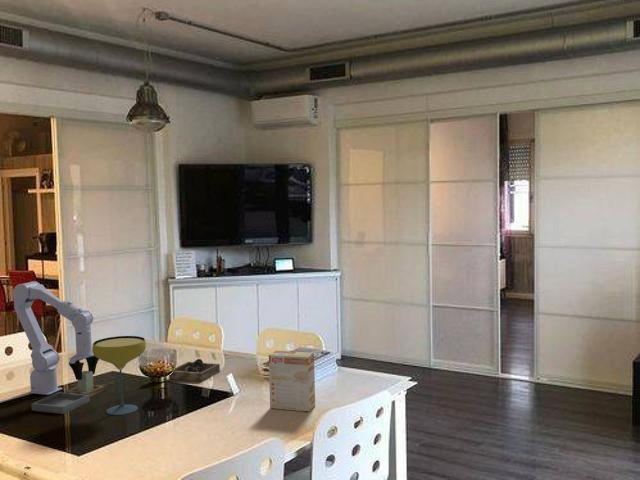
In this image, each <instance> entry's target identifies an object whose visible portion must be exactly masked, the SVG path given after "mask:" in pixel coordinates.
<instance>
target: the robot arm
mask: <svg viewBox="0 0 640 480" xmlns="http://www.w3.org/2000/svg"><path fill="white" fill-rule="evenodd" d="M11 295H12V297H13V308H14V311H15V312H16V313H15V314H16V315H17V318H18V319H19V322H20V324H21V326H22V328H23V330H24V333H25V335H26V338H27V339H28V342H29V344H30V346H31V348H32V351H31V352H30V353H31V354H30V357H31V361H32V362H31V365H32V368H33V370H32V371H31V373H30V375H29V378H30V379H29V380H30V385H29V386H30V391H29V394H36V395H37V394H38V395H45V396H50V395H53V394H55V393H57V392H60V391H61V390H63V387H58V378H57V377H58V376H57V365H58V363H59V362H60V355H59V353H58V352H57V351H56V350H55V349H54V346H53V345H51V344H49V343H48V342H47V341H46V339H45V336H44V334H43V332H42V330H41V327H40V325H39V323H38V320H37V317H36V316H35V314H34V311H33V309H32V305H33V303H34V301H35V300H41V301H42V302H44V303H47V305H50V306H52V307H54V308H55V309H57V310H56V311H57V313H58V314H59V315H61V316H62V317H64V318H65V319H66V320H68V321H70V322H71V325H72V326H73V327H74V332H75V334H74V335H75V351H76V353H75V355H73V356H71V357H68V359H69V360H68V366H69V367H70V368H71V370H72V371H73V374H74V377H75V380H76V381H78V380H82V372H83V369H84V368H83V367H84V364H85V362H82V360H85V361H86V363H87V371H92V372H93V376H94V375H95V373H96V369H97V364H98V363H99V360H100V359H99V358H97V357H96V356H95V355H94V354H93V350H92V347H93V343H92V327H91V326H92V325H91V324H92V323H93V321H94V315H93V314H92V313H91V312H90V311H89V310H83V309H82V308H79V307H78V306H76V305H75V304H73V301H71V300H70V301H69V300H65V301H64V300H62V299H60V298H59V297H57V296H56V295H55V294H53V293H52V292H51V291H49V290H48V289H47V288H46V287H45V286H44V285H43V284H42V283H41V284H40V282H38V281H36V280H32V281H30V282H24V283H19V284H16V285H15V286H14V288H13V291H12V292H11Z"/></svg>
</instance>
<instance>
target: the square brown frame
mask: <svg viewBox="0 0 640 480" xmlns="http://www.w3.org/2000/svg"><path fill="white" fill-rule="evenodd" d="M93 389H94V390H92V391H90V392H88V393H86V392H78V386H75V387H74V388H73V387H72V388H71V389H69V390H66V391H65V393H74V394H84V395H90V398H91V397H93V396H95V395H97V394H99V393H101V392H103V391H105V390H106V389H107V388H106V385H99V384H93Z"/></svg>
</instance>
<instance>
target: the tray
mask: <svg viewBox="0 0 640 480" xmlns="http://www.w3.org/2000/svg"><path fill="white" fill-rule="evenodd" d="M90 398H91V397H90V395H84V394H74V393H66V392H61V391H57V392H55V393H52V394H50V395H47V396H46V397H44V398H42V399H39V400H37V401H34V402H32V403H30V404H31V411H33V412H40V413H41V412H42V413H52V414H62V415H64V414H66V413H69V412H71V411H72V410H75V409H77V408H79V407H81V406H84V405H85V404H87V403H90V402H91V400H90Z"/></svg>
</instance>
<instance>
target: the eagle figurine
mask: <svg viewBox="0 0 640 480" xmlns="http://www.w3.org/2000/svg"><path fill="white" fill-rule="evenodd" d="M192 362H193V365H192V367H190V366H188V367H186V368H185V371H186V372H198V373H200V371H198V370H200V368H199V367H201V366H202V364H203V363H204V361H203V360H202V359H201V358H197V359H196V360H194V361H192ZM197 368H199V369H197Z"/></svg>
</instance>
